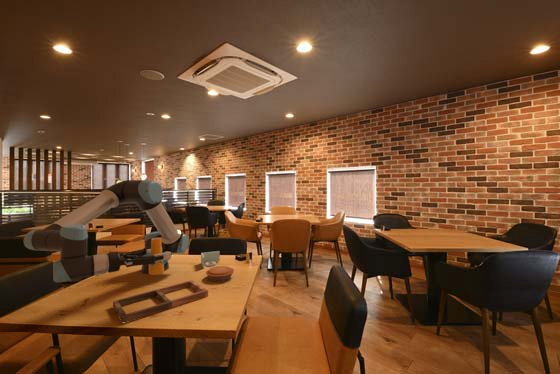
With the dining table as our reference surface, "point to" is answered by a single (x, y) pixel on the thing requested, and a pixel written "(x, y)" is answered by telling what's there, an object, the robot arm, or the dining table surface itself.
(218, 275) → the pie
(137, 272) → the dining table surface
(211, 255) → the right angle wall
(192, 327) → the dining table surface
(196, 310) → the dining table surface
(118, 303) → the rail frame
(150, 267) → the orange post with rings
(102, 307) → the dining table surface
